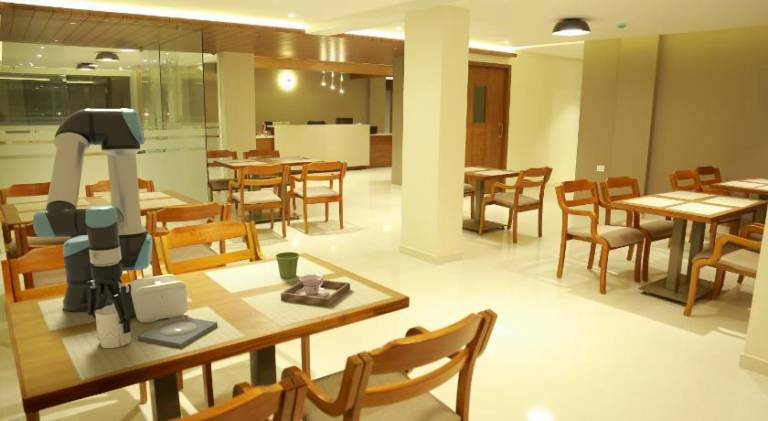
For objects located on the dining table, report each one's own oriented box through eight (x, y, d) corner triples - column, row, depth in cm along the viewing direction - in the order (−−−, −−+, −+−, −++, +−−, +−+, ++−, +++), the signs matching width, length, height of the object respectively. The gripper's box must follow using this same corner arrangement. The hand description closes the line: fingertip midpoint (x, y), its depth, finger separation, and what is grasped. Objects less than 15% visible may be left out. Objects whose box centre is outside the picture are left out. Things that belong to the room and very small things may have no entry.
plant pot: (305, 275, 211) (304, 254, 209) (289, 281, 203) (288, 259, 201) (287, 271, 216) (286, 250, 214) (270, 277, 208) (270, 256, 206)
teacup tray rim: (281, 300, 184) (280, 293, 183) (306, 284, 200) (305, 277, 200) (328, 306, 177) (328, 299, 177) (350, 289, 194) (350, 282, 194)
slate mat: (138, 339, 152) (137, 335, 152) (177, 319, 167) (177, 315, 166) (180, 347, 147) (180, 343, 147) (217, 325, 162) (217, 321, 161)
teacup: (305, 302, 181) (305, 285, 180) (288, 293, 190) (287, 277, 189) (335, 295, 189) (334, 278, 188) (317, 286, 198) (316, 270, 197)
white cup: (117, 350, 145) (113, 316, 143) (92, 348, 147) (88, 313, 145) (136, 338, 153) (132, 305, 151) (111, 336, 154) (108, 303, 152)
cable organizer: (181, 305, 179) (178, 272, 176) (189, 315, 170) (186, 280, 168) (132, 315, 171) (128, 280, 168) (137, 326, 162) (134, 289, 160)
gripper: (66, 262, 145) (75, 341, 150) (124, 270, 138) (132, 352, 143) (89, 255, 152) (97, 331, 157) (146, 262, 145) (153, 341, 150)
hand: (114, 341), depth 150 cm, fingers closed on white cup, 8 cm apart
